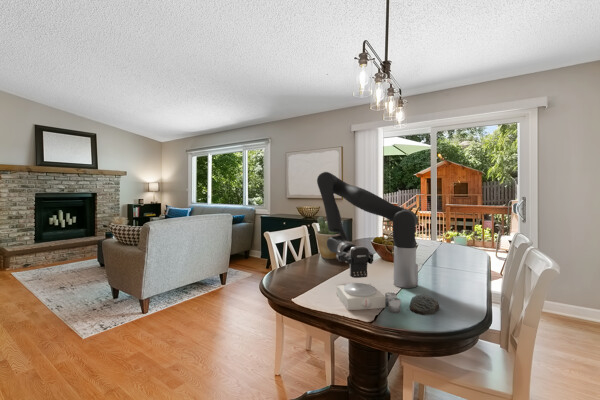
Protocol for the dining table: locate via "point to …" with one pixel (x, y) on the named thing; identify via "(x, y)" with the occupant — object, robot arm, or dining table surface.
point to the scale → (360, 296)
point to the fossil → (423, 305)
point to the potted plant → (325, 239)
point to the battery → (359, 262)
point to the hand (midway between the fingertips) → (361, 261)
